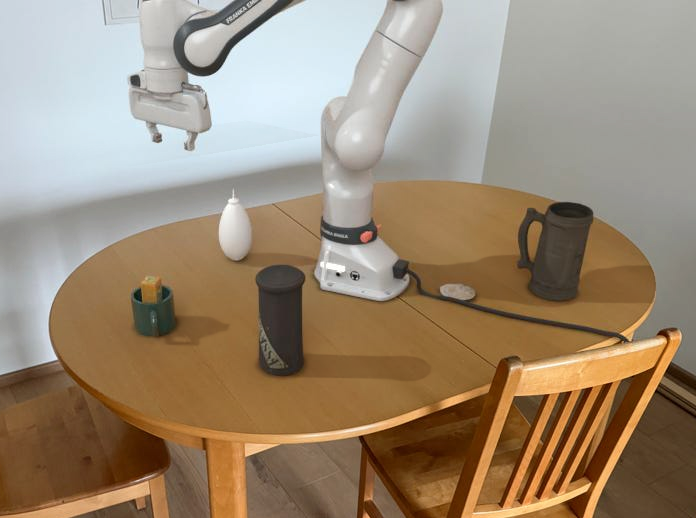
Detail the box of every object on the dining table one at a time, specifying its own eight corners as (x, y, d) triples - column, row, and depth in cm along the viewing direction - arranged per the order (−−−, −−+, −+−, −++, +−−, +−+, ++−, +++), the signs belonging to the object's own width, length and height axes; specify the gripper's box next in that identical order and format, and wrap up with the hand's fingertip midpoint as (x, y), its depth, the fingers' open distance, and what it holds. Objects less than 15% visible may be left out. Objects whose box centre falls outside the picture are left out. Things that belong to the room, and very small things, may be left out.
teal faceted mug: (135, 317, 152) (130, 285, 148) (174, 313, 153) (171, 282, 149) (135, 346, 142) (130, 314, 138) (178, 342, 144) (174, 310, 140)
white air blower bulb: (239, 269, 170) (236, 197, 160) (214, 260, 174) (209, 190, 164) (259, 257, 176) (257, 187, 166) (234, 249, 179) (230, 180, 169)
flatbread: (476, 288, 163) (477, 285, 162) (473, 304, 157) (473, 300, 157) (441, 283, 165) (441, 279, 164) (436, 298, 159) (436, 294, 159)
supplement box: (160, 327, 147) (155, 284, 141) (144, 325, 148) (138, 282, 142) (166, 318, 150) (161, 276, 144) (150, 317, 150) (145, 274, 145)
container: (257, 352, 141) (254, 261, 130) (302, 350, 142) (303, 259, 130) (258, 378, 134) (255, 284, 123) (306, 376, 134) (307, 282, 123)
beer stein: (583, 285, 165) (597, 202, 154) (577, 305, 157) (591, 220, 146) (515, 275, 171) (525, 195, 160) (506, 295, 163) (515, 212, 152)
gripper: (215, 83, 145) (219, 151, 153) (142, 70, 154) (149, 134, 162) (195, 90, 140) (200, 159, 148) (120, 75, 150) (129, 141, 157)
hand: (173, 146), depth 155 cm, fingers open, 8 cm apart
